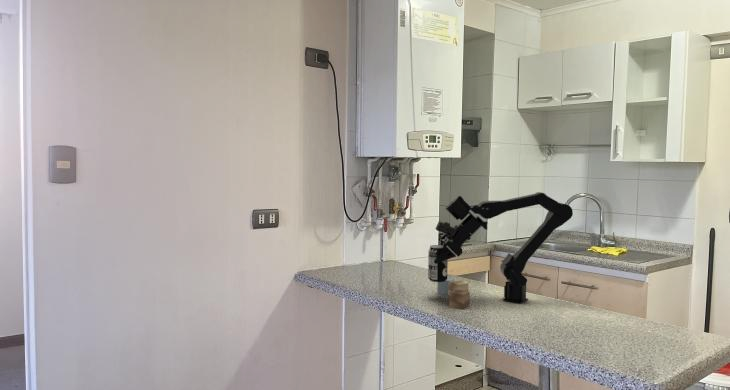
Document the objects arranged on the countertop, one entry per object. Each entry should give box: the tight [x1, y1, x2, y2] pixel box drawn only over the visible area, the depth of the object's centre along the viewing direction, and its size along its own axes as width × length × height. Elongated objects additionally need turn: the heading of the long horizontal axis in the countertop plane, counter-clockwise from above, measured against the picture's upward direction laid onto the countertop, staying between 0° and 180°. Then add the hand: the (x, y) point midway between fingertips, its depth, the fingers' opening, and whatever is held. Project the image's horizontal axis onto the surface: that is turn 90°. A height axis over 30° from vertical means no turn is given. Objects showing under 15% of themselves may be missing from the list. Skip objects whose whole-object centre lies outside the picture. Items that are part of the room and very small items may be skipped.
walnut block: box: [448, 289, 471, 310], centre depth 173 cm, size 5×5×5 cm
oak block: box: [448, 279, 470, 296], centre depth 187 cm, size 5×5×5 cm
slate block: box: [437, 277, 455, 296], centre depth 192 cm, size 5×5×5 cm
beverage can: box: [427, 244, 449, 283], centre depth 182 cm, size 7×7×12 cm
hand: (433, 261), depth 182 cm, fingers closed on beverage can, 6 cm apart
